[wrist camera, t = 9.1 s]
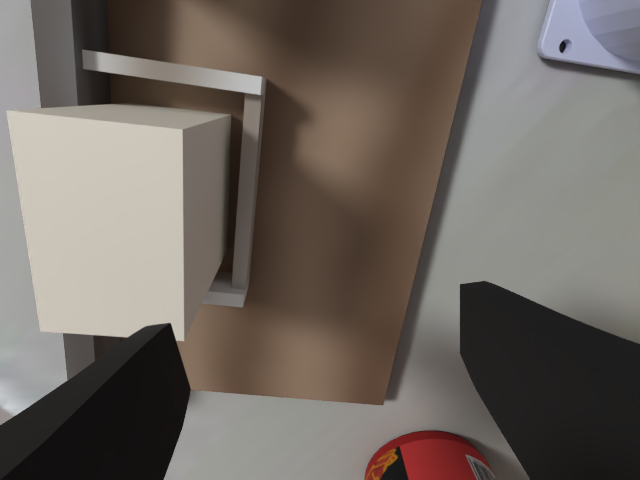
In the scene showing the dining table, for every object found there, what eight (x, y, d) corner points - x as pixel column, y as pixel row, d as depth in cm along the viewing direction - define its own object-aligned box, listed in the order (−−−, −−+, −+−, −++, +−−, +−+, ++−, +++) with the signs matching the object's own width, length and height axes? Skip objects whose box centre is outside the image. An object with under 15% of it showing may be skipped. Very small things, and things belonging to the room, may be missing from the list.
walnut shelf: (522, -208, 14) (591, -302, 10) (379, 392, 23) (393, 443, 19) (65, -312, 12) (-20, -457, 9) (104, 369, 21) (68, 419, 18)
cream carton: (231, 114, 16) (182, 129, 9) (226, 251, 18) (184, 341, 12) (126, 102, 16) (1, 109, 9) (134, 243, 18) (36, 330, 11)
